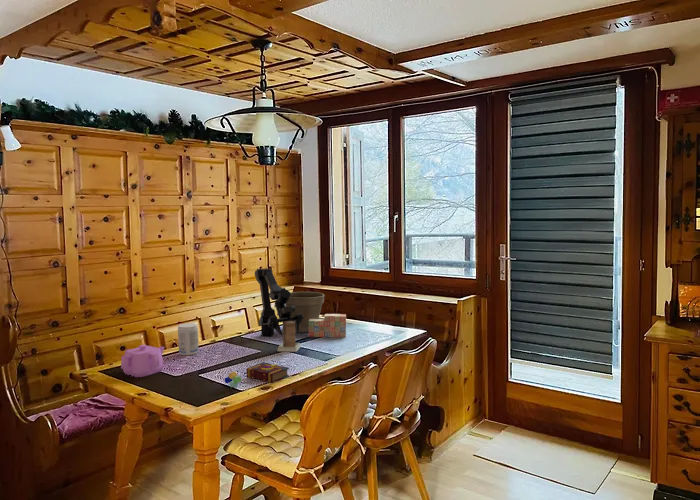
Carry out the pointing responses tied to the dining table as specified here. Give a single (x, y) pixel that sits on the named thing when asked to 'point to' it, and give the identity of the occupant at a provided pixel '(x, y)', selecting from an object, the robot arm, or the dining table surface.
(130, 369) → the teakettle
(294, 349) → the cream square tray
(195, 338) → the supplement tub
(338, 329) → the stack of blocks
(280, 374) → the decorative book
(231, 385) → the dice
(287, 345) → the walnut post
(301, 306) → the plant pot
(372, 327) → the dining table surface
